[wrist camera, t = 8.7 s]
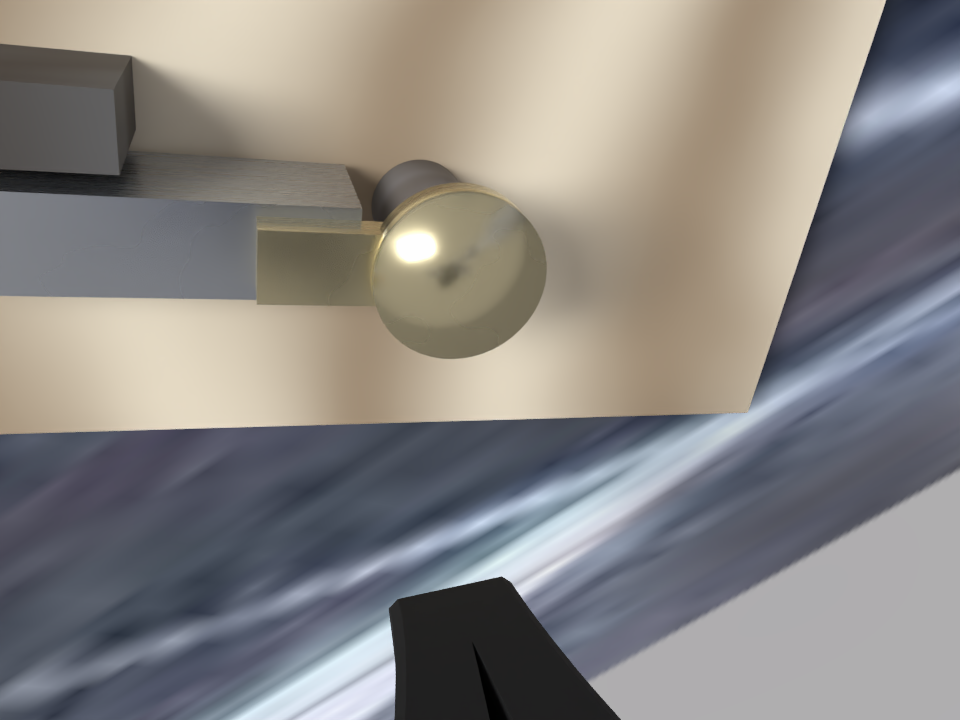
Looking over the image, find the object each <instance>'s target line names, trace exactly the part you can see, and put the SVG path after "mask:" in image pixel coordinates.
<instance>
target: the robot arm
mask: <svg viewBox="0 0 960 720" xmlns="http://www.w3.org/2000/svg"><path fill="white" fill-rule="evenodd" d="M389 614H390V622H391V630H392V638H393V646H394V655H395V663H396V691H395V720H621V719H620V718H619V717H618V716H617V715H616V714H615V712H614V711H613V710H612V709H611V708H610V707H609V706H608V705H607V704H606V702H605V701H604V700H603V699H602V698H601V697H600V696H599V695H598V694H597V692H596V691H595V690H594V689H593V688H592V687H591V686H590V684H589V683H588V682H587V681H586V680H585V678H584V677H583V676H582V675H581V674H580V673H579V671H578V670H577V669H576V668H575V667H574V665H573V664H572V663H571V662H570V660H569V659H568V658H567V657H566V656H565V654H564V653H563V652H562V651H561V649H560V648H559V647H558V646H557V644H556V643H555V642H554V641H553V639H552V638H551V637H550V636H549V634H548V633H547V632H546V630H545V629H544V628H543V627H542V625H541V624H540V623H539V621H538V620H537V619H536V617H535V616H534V615H533V613H532V612H531V610H530V609H529V608H528V606H527V605H526V603H525V602H524V601H523V599H522V598H521V596H520V595H519V594H518V592H517V591H516V589H515V588H514V586H513V585H512V583H511V582H510V581H508V580H506V579H505V578H503V577H498V578H493V579H489V580H484V581H479V582H475V583H470V584H466V585H461V586H456V587H452V588H447V589H442V590H438V591H433V592H429V593H424V594H419V595H415V596H410V597H406V598H401V599H398V600H397V601H396V602H395V603H394V604H393V605H392V606H391V607H390V608H389Z"/></svg>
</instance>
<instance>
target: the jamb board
mask: <svg viewBox="0 0 960 720" xmlns="http://www.w3.org/2000/svg"><path fill="white" fill-rule="evenodd" d="M885 2H886V0H0V169H8V170H27V171H46V172H65V173H84V174H102V175H120V172H121V170H122V167H123V164H124V161H125V159H126V156H127V153H128V151H139V152H155V153H171V154H187V155H203V156H219V157H235V158H251V159H267V160H283V161H298V162H314V163H330V164H344V165H345V167H346V170H347V172H348V175H349V177H350V179H351V182H352V184H353V187H354V189H355V192H356V194H357V197H358V199H359V201H360V204H361V206H362V221H377V222H384V220H385V219H386V218H387V217H388V216H389V214H390V213H391V212H392V211H393V210H394V209H395V208H396V207H397V206H398V205H400V204H401V203H402V202H404V201H405V200H406V199H408V198H409V197H411V196H413V195H414V194H416V193H418V192H420V191H422V190H425V189H427V188H430V187H433V186H437V185H440V184H447V183H471V184H477V185H481V186H485V187H488V188H490V189H492V190H495V191H497V192H498V193H500V194H502V195H503V196H505V197H506V198H508V199H509V200H510V201H511V202H512V203H514V205H515V206H516V207H517V208H518V209H519V210H520V211H521V212H522V213H523V215H524V216H525V217H526V218H527V219H528V220H529V221H530V223H531V224H532V225H533V227H534V228H535V230H536V231H537V233H538V235H539V237H540V239H541V241H542V244H543V247H544V250H545V255H546V262H547V274H546V282H545V287H544V291H543V294H542V297H541V299H540V302H539V304H538V306H537V308H536V310H535V311H534V313H533V315H532V316H531V317H530V319H529V320H528V322H527V323H526V324H525V325H524V326H523V327H522V328H521V330H520V331H518V332H517V333H516V334H515V335H514V336H513V337H512V338H510V339H509V340H508V341H506V342H505V343H503V344H502V345H500V346H498V347H496V348H495V349H493V350H490V351H488V352H485V353H483V354H480V355H476V356H473V357H468V358H462V359H440V358H435V357H430V356H426V355H423V354H420V353H418V352H416V351H414V350H411V349H410V348H408V347H407V346H405V345H403V344H402V343H401V342H400V341H398V340H397V339H396V338H395V337H394V336H393V335H392V334H391V333H390V331H389V330H388V329H387V328H386V326H385V325H384V323H383V321H382V320H381V317H380V315H379V313H378V311H377V308H376V306H313V305H257V302H256V300H228V299H164V298H99V297H34V296H0V434H22V433H56V432H91V431H126V430H161V429H195V428H230V427H265V426H299V425H334V424H369V423H403V422H438V421H473V420H508V419H542V418H577V417H612V416H646V415H681V414H716V413H748V410H749V407H750V404H751V401H752V398H753V395H754V392H755V389H756V386H757V383H758V380H759V377H760V374H761V371H762V368H763V365H764V362H765V359H766V356H767V353H768V350H769V347H770V344H771V341H772V338H773V336H774V333H775V330H776V327H777V324H778V321H779V318H780V315H781V312H782V309H783V306H784V303H785V300H786V297H787V294H788V291H789V288H790V285H791V282H792V279H793V276H794V273H795V270H796V267H797V264H798V261H799V258H800V255H801V252H802V249H803V246H804V243H805V240H806V237H807V234H808V231H809V228H810V225H811V222H812V219H813V216H814V213H815V210H816V208H817V205H818V202H819V199H820V196H821V193H822V190H823V187H824V184H825V181H826V178H827V175H828V172H829V169H830V166H831V163H832V160H833V157H834V154H835V151H836V148H837V145H838V142H839V139H840V136H841V133H842V130H843V127H844V124H845V121H846V118H847V115H848V112H849V109H850V106H851V103H852V100H853V97H854V94H855V91H856V88H857V85H858V83H859V80H860V77H861V74H862V71H863V68H864V65H865V62H866V59H867V56H868V53H869V50H870V47H871V44H872V41H873V38H874V35H875V32H876V29H877V26H878V23H879V20H880V17H881V14H882V11H883V8H884V5H885Z"/></svg>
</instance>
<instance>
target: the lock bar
mask: <svg viewBox="0 0 960 720" xmlns="http://www.w3.org/2000/svg"><path fill="white" fill-rule="evenodd" d="M546 274H547V262H546V255H545V250H544V247H543V244H542V241H541V239H540V237H539V235H538V233H537V231H536V230H535V228H534V227H533V225H532V224H531V223H530V221H529V220H528V219H527V218H526V217H525V216H524V215H523V213H522V212H521V211H520V210H519V209H518V208H517V207H516V206H515V205H514V203H512V202H511V201H510V200H509V199H508V198H506V197H505V196H503V195H502V194H500V193H498V192H497V191H495V190H492V189H490V188H488V187H485V186H481V185H477V184H471V183H447V184H440V185H437V186H433V187H430V188H427V189H425V190H422V191H420V192H418V193H416V194H414V195H413V196H411V197H409V198H408V199H406V200H405V201H404V202H402V203H401V204H400V205H398V206H397V207H396V208H395V209H394V210H393V211H392V212H391V213H390V214H389V216H388V217H387V218H386V219H385V220H384V222H377V221H362V206H361V204H360V201H359V199H358V197H357V194H356V192H355V189H354V187H353V184H352V182H351V179H350V177H349V175H348V172H347V170H346V167H345V165H344V164H330V163H314V162H298V161H283V160H267V159H251V158H235V157H219V156H203V155H187V154H171V153H155V152H139V151H128V153H127V156H126V159H125V161H124V164H123V167H122V170H121V172H120V175H102V174H84V173H65V172H46V171H27V170H8V169H0V296H34V297H99V298H164V299H228V300H256V302H257V305H313V306H376V308H377V311H378V313H379V315H380V317H381V320H382V321H383V323H384V325H385V326H386V328H387V329H388V330H389V331H390V333H391V334H392V335H393V336H394V337H395V338H396V339H397V340H398V341H400V342H401V343H402V344H403V345H405V346H407V347H408V348H410V349H411V350H414V351H416V352H418V353H420V354H423V355H426V356H430V357H435V358H440V359H462V358H468V357H473V356H476V355H480V354H483V353H485V352H488V351H490V350H493V349H495V348H496V347H498V346H500V345H502V344H503V343H505V342H506V341H508V340H509V339H510V338H512V337H513V336H514V335H515V334H516V333H517V332H518V331H520V330H521V328H522V327H523V326H524V325H525V324H526V323H527V322H528V320H529V319H530V317H531V316H532V315H533V313H534V311H535V310H536V308H537V306H538V304H539V302H540V299H541V297H542V294H543V291H544V287H545V282H546Z"/></svg>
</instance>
